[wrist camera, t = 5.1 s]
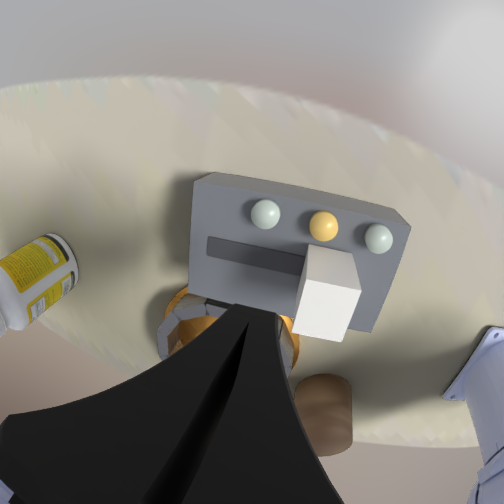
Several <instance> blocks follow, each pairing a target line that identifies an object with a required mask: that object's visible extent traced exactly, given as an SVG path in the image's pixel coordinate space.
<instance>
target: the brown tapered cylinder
mask: <svg viewBox="0 0 504 504" xmlns="http://www.w3.org/2000/svg"><path fill="white" fill-rule="evenodd" d="M294 403H295V406H296V409H297V412H298V414H299V417H300V419H301V422H302V425H303V427H304V429H305V432H306V434H307V436H308V439H309V441H310V443H311V445H312V447H313V449H314V451H315V453H316V455H317V457H318V456H319V457H322V456H331V455H335V454H338V453H341V452H343V451H345V450H346V449H348V448H349V447H350V446H351V445H352V441H353V435H352V397H351V386H350V384H349V383H348V381H346V380H345V379H344V378H342V377H340V376H337V375H332V374H318V375H313V376H310V377H307V378H305V379H304V380H302V381H301V382H300V383H299V384H298V385H297V387H296V390H295V397H294Z"/></svg>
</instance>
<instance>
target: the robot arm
mask: <svg viewBox="0 0 504 504" xmlns="http://www.w3.org/2000/svg"><path fill="white" fill-rule="evenodd" d="M278 317H279V316H278V315H277V314H276V313H275V312H271V311H266V310H262V309H258V308H253V307H249V306H245V305H241V304H237V303H235V304H233V305H231V306H230V307H229V308H228V309H227V310H226V311H225V312H224V313H223V314H222V315H221V316H220V317H219V318H218V319H217V320H216V321H215V322H213V323H212V324H211V325H210V326H209V327H208V328H207V329H205V330H204V331H203V332H202V333H200V334H199V335H198V336H197V337H195V338H194V339H193V340H192V341H190V342H189V343H188V344H186V345H185V346H184V347H182V348H181V349H179V350H178V351H176V352H175V353H173V354H172V355H171V356H169V357H168V358H166V359H165V360H163V361H162V362H160V363H158V364H157V365H155V366H153V367H152V368H150V369H148V370H146V371H145V372H143V373H141V374H139V375H137V376H135V377H133V378H131V379H129V380H127V381H125V382H123V383H121V384H119V385H116V386H114V387H112V388H110V389H107V390H105V391H103V392H100V393H98V394H95V395H92V396H89V397H86V398H83V399H80V400H77V401H73V402H71V403H67V404H64V405H60V406H57V407H52V408H47V409H42V410H37V411H31V412H26V413H20V414H12V415H9V416H8V417H7V418H6V419H5V420H4V421H3V422H2V423H1V425H0V504H344V502H343V501H342V499H341V498H340V496H339V494H338V493H337V491H336V489H335V488H334V486H333V485H332V483H331V481H330V480H329V478H328V476H327V474H326V472H325V471H324V468H323V467H322V465H321V463H320V461H319V459H318V457H317V455H316V453H315V451H314V449H313V447H312V445H311V443H310V441H309V439H308V436H307V434H306V432H305V429H304V427H303V425H302V422H301V419H300V417H299V414H298V412H297V409H296V406H295V403H294V400H293V397H292V394H291V390H290V387H289V384H288V380H287V376H286V372H285V368H284V363H283V359H282V354H281V349H280V342H279V333H278ZM443 398H444V400H466V402H467V405H468V408H469V411H470V414H471V418H472V421H473V424H474V427H475V431H476V434H477V438H478V442H479V445H480V449H481V453H482V457H483V462H484V467H483V468H482V469H480V470H479V471H478V472H477V473H478V477H479V480H478V481H477V482H476V483H475V484H474V486H473V488H472V490H471V493H470V495H469V498H468V502H467V504H504V328H497V327H491V328H490V329H488V331H487V332H486V334H485V335H484V337H483V339H482V340H481V342H480V344H479V345H478V347H477V348H476V350H475V351H474V353H473V355H472V356H471V358H470V359H469V360H468V362H467V363H466V365H465V366H464V368H463V369H462V371H461V372H460V373H459V375H458V376H457V377H456V379H455V380H454V381H453V383H452V384H451V385H450V387H449V388H448V389H447V391H446V392H445V393H444V395H443Z"/></svg>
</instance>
